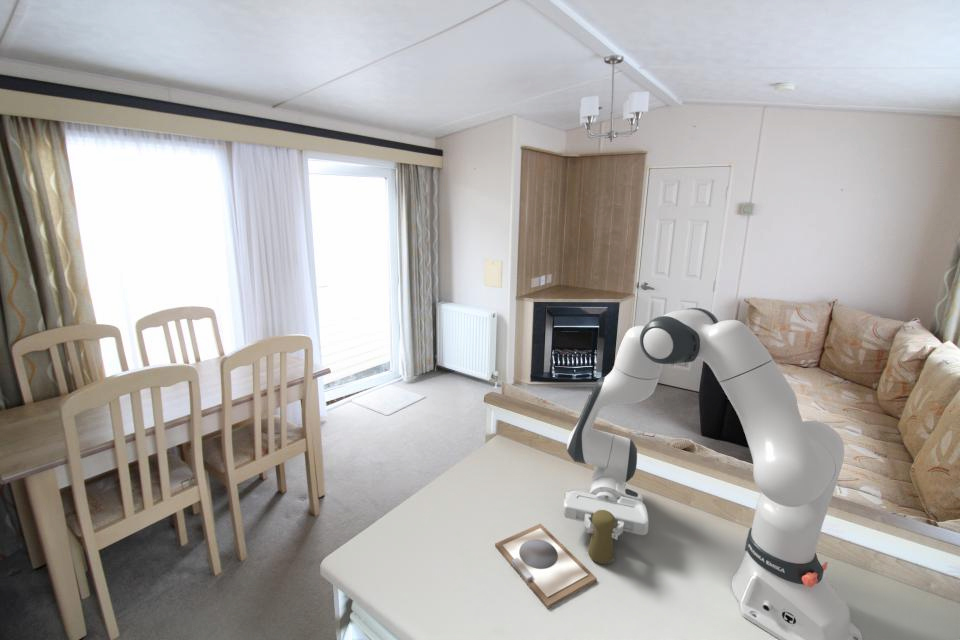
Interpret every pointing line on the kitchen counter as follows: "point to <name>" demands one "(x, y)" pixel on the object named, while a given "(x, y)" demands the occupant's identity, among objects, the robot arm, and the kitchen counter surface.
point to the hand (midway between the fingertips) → (602, 534)
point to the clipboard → (545, 565)
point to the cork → (602, 537)
